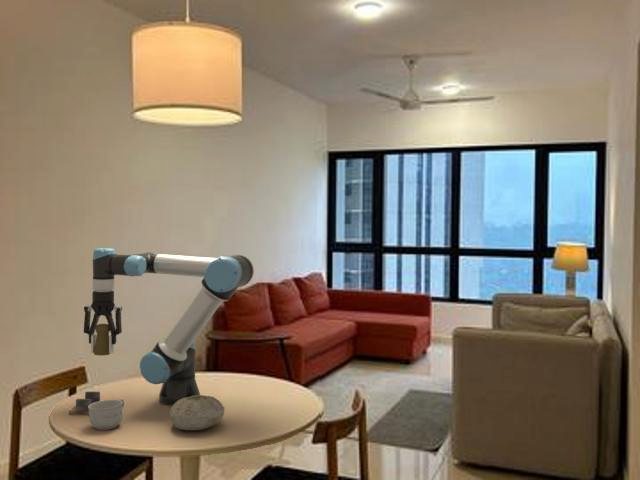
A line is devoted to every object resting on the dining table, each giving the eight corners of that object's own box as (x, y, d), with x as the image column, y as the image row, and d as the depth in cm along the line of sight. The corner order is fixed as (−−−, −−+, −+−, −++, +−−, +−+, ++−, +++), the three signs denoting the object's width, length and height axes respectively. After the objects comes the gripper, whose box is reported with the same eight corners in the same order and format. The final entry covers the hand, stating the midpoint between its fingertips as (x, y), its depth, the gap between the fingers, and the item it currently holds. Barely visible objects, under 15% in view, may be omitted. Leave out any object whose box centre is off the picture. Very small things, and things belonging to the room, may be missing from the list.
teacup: (103, 435, 199) (102, 410, 199) (81, 428, 205) (81, 404, 204) (137, 423, 211) (136, 399, 211) (115, 417, 217) (115, 394, 216)
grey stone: (170, 419, 215) (170, 391, 214) (222, 416, 219) (222, 388, 218) (169, 438, 197) (169, 406, 197) (226, 434, 201) (226, 403, 201)
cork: (113, 353, 230) (114, 324, 230) (98, 356, 226) (98, 326, 225) (106, 351, 235) (107, 321, 234) (91, 353, 230) (91, 323, 230)
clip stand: (106, 405, 229) (106, 391, 229) (97, 414, 219) (97, 400, 219) (79, 405, 229) (79, 391, 229) (68, 414, 219) (68, 399, 218)
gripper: (132, 289, 233) (131, 351, 234) (82, 288, 233) (81, 349, 234) (125, 292, 225) (124, 355, 226) (73, 290, 226) (72, 353, 227)
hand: (102, 352), depth 230 cm, fingers closed on cork, 6 cm apart
